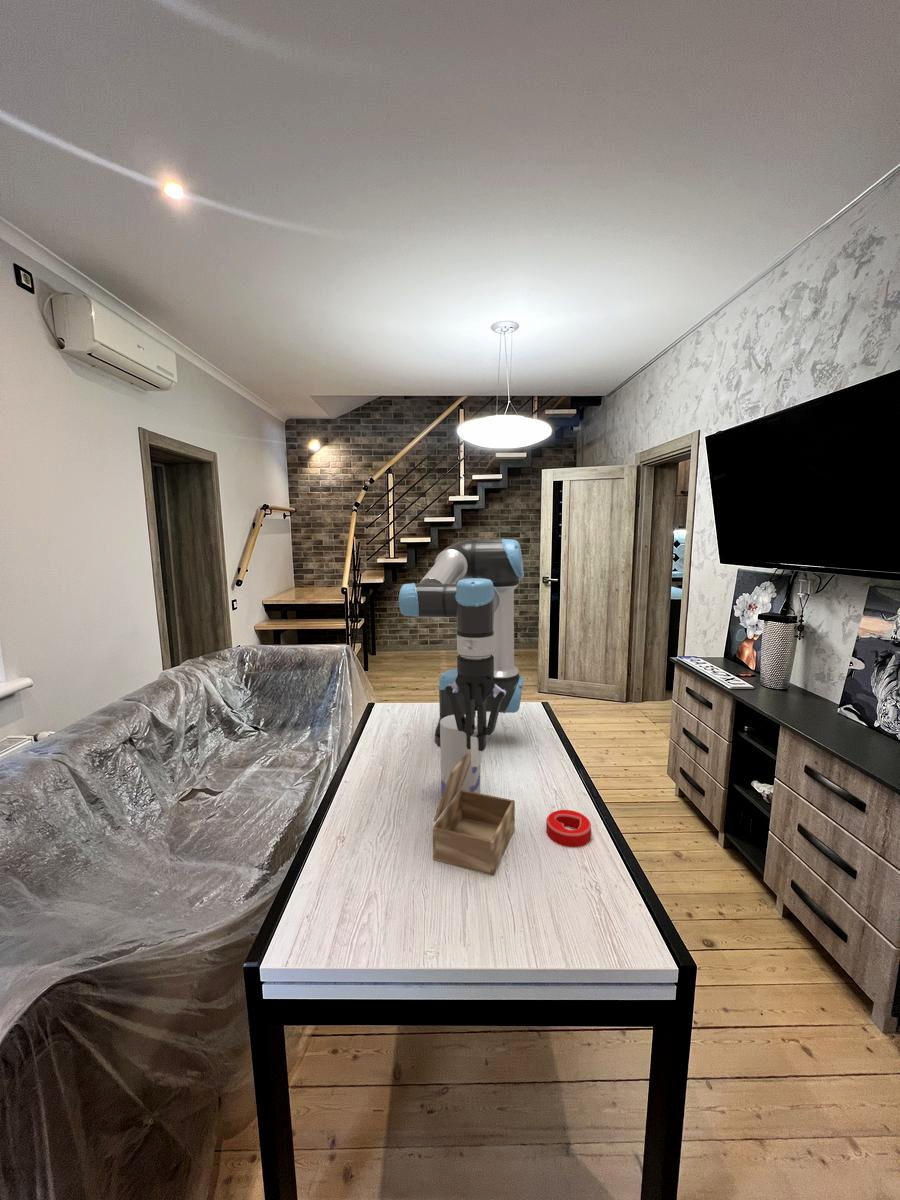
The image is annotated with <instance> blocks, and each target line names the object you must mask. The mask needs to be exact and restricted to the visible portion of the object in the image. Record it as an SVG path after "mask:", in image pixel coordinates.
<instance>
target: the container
mask: <svg viewBox="0 0 900 1200" xmlns="http://www.w3.org/2000/svg"><path fill="white" fill-rule="evenodd" d="M464 715H465V714H464ZM475 727H476V729H475V730H474V732H477V716H476V717H475ZM439 747H440V786H441V788H440V790H441V797H442V795H443V792H444V790H445V787H446V784H447V781H448V779H449V776H450V773H451V771H452V770H453V769H454V768H455V766H456V765H457V764H458V763H459V762H460V760H461V759H462V758H463V757H464V756H465V754H466V753H467V752H468V751H469V750H470V749H467V741H466V733H465V732H463V731H459V730H458V729H457V724H456V720H455V716H454V715H449V716H446V717H444V718H442V719H441V721H440V746H439ZM460 790H465V791H470V792H475V793H480V794H481V764H480V765H479V766H478V767H473V766H471V764H470V766H469V769H468V772H467V774H466V777H465V780H464V782H463V785H462V787H461V788H460ZM460 790H459V791H460ZM459 791H458V792H457V794H458V793H459ZM457 794H456V795H457ZM456 795H455V796H454V798H455V797H456ZM454 798H453V799H454ZM453 799H452V800H451V802H452V801H453ZM451 802H450V803H451ZM450 803H449V804H448V805H450Z"/></svg>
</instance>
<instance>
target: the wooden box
mask: <svg viewBox="0 0 900 1200" xmlns="http://www.w3.org/2000/svg"><path fill="white" fill-rule="evenodd" d="M515 804H516V800H513V799H510V798H504V797H498V796H493V795H489V794H484V793H481V792H480V793H475V792H470V791H465V790H460V791H459V793H458V794H457V795H456V797H455V798H454V799H453V801H452V802H451V803H450V804H448V806H447V807H446V808H445V810H444V811H443V813H442V814H441V815H440V817H439V818H438V819H437V821H436V822H435V824H434V825H433V826H432V830H431V832H432V834H431V835H432V860H433V861H437V862H441V863H444V864H447V865H452V866H455V867H459V868H463V869H467V870H472V871H473V872H478V873H482V874H485V875H489V876H493V877H494V876H495V874H496V871H497V869H498V867H499V865H500V863H501V860H502V858H503V856H504V853H505V851H506V849H507V847H508V845H509V843H510V841H511V838H512V836H513V834H514V833H515V830H516V829H515V828H516V826H515V823H516V822H515V821H516V818H515V817H516V815H515V814H516V813H515V812H516V807H515V806H516V805H515Z"/></svg>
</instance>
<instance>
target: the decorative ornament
mask: <svg viewBox="0 0 900 1200" xmlns="http://www.w3.org/2000/svg"><path fill="white" fill-rule="evenodd" d="M567 828H572V829H567ZM545 831H546V834H547V836H548V838H549V839H550V840H551V841H552V842H554V843H555V844H557V845H559V846H562V847H566V848H580V847H583V846H586V845H587V844H588V843H589V842H590V841H591V839H592V824H591V821H590V820H589V818H588V817H587V816H586V815H584V814H583V813H580V812H578V811H575V810H572V809H571V810H570V809H558V810H555V811H553V812H551V813H549V814H548V816H547V817H546V829H545Z"/></svg>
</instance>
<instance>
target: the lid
mask: <svg viewBox="0 0 900 1200" xmlns="http://www.w3.org/2000/svg"><path fill="white" fill-rule="evenodd" d="M470 764H471V749H470V750H469V751H468V752H467V753H466V754H465V756H464V757H463V758H462V759H461V760H460V762H459V763H458V764H457V765H456V766H455V768H454V769H453V770H452V771H451V773H450V776H449V779H448V781H447V784H446V787H445V790H444V792H443V795H442V796H441V799H440V801H439V804H438V806H437V807H436V810H435V814H434V816H433V817H434V818H433V820H432V822H434V823H436V822H437V821H438V820H439V818H440V817H441V816H442V814H443V813H444V812H445V810H446V809H447V808H448V806H449V805H450V804H449V803H450V802H451V800H452V799H453V798H454V796H455V795H456V794H457V792H458V791H459V790H460V788H461V787H462V785H463V782H464V780H465V777H466V774H467V772H468V769H469V766H470Z"/></svg>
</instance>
